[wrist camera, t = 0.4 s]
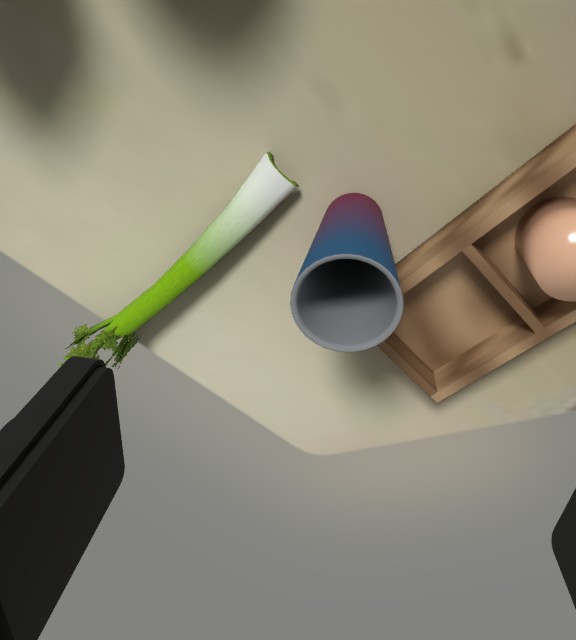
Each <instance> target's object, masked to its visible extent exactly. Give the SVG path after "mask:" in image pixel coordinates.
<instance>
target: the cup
mask: <svg viewBox="0 0 576 640" xmlns="http://www.w3.org/2000/svg"><path fill="white" fill-rule="evenodd" d="M290 305H291V311H292V315H293V318H294V320H295V323H296V324H297V326H298V327H299V329H300V330H301V331H302V332H303V334H304V335H305V336H306V337H307V338H309V339H310V340H311V341H313V342H314V343H316V344H318V345H320V346H322V347H324V348H327V349H330V350H333V351H339V352H357V351H362V350H366V349H369V348H372V347H374V346H376V345H378V344H380V343H381V342H383V341H384V340H385V339H387V338H388V337H389V336H390V335H391V334H392V333H393V331H394V330H395V329H396V327H397V326H398V324H399V321H400V319H401V317H402V312H403V295H402V291H401V287H400V283H399V280H398V276H397V272H396V268H395V264H394V260H393V256H392V252H391V248H390V244H389V240H388V236H387V232H386V228H385V224H384V220H383V216H382V212H381V210H380V208H379V206H378V205H377V203H376V202H375V201H374V200H373V199H371V198H370V197H368V196H366V195H363V194H359V193H349V194H345V195H342V196H340V197H338V198H337V199H335V200H334V201H333V202H332V203H331V204H330V206H329V207H328V209H327V211H326V213H325V215H324V218H323V220H322V222H321V224H320V227H319V229H318V231H317V233H316V236H315V238H314V240H313V243H312V245H311V247H310V249H309V252H308V254H307V256H306V258H305V261H304V263H303V265H302V268H301V270H300V272H299V274H298V277H297V279H296V281H295V283H294V286H293V289H292V293H291V302H290Z"/></svg>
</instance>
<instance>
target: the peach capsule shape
mask: <svg viewBox="0 0 576 640" xmlns="http://www.w3.org/2000/svg"><path fill="white" fill-rule="evenodd" d="M515 246H516V249H517V251H518V253H519V255H520V256H521V258H522V259H523V261H524V263H525V264H526V266H527V267H528V269H529V270H530V272H531V273H532V275H533V277H534V278H535V280H536V281H537V283H538V284H539V286H540V287H541V289H542V290H543V291H544V292H545V293H547V294H548V295H549V296H551V297H553V298H556V299H558V300H563V301H576V198H572V197H554V198H550V199H547V200H544V201H542V202H540V203H538V204H537V205H535V206H533V207H532V208H531V209H530V210H529V211H528V212H527V213H526V214H525V215H524V216H523V217H522V218H521V220H520V222H519V224H518V226H517V228H516V231H515Z"/></svg>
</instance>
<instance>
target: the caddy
mask: <svg viewBox="0 0 576 640" xmlns="http://www.w3.org/2000/svg"><path fill="white" fill-rule="evenodd" d="M554 197H572V198H576V124H575V125H574V126H573V127H571V128H570V129H569V130H567V131H566V132H565V133H564V134H562V135H561V136H560V137H558V138H557V139H556V140H555V141H553V142H552V143H551V144H549V145H548V146H547V147H546V148H544V149H543V150H542V151H540V152H539V153H538V154H537V155H535V156H534V157H533V158H531V159H530V160H529V161H528V162H526V163H525V164H524V165H522V166H521V167H520V168H519V169H517V170H516V171H515V172H513V173H512V174H511V175H510V176H508V177H507V178H506V179H504V180H503V181H502V182H501V183H499V184H498V185H497V186H496V187H494V188H493V189H492V190H490V191H489V192H488V193H487V194H485V195H484V196H483V197H481V198H480V199H479V200H478V201H476V202H475V203H474V204H472V205H471V206H470V207H469V208H467V209H466V210H465V211H463V212H462V213H461V214H460V215H458V216H457V217H456V218H454V219H453V220H452V221H451V222H449V223H448V224H447V225H445V226H444V227H443V228H442V229H440V230H439V231H438V232H436V233H435V234H434V235H433V236H431V237H430V238H429V239H427V240H426V241H425V242H424V243H422V244H421V245H420V246H418V247H417V248H416V249H415V250H413V251H412V252H411V253H409V254H408V255H407V256H406V257H404V258H403V259H402V260H400V261H399V262H398V263H397V264H395V268H396V272H397V276H398V280H399V283H400V287H401V291H402V295H403V312H402V317H401V319H400V321H399V324H398V326H397V327H396V329H395V330H394V331H393V333H392V334H391V335H390V336H389V337H388V338H387V339H385V340H384V341H383V342H381V343H380V344H378V345H377V346H378V347H379V348H380V349H381V350H382V351H384V352H385V353H386V354H387V355H388V356H389V357H390V358H391V359H392V360H393V361H394V362H395V363H396V364H397V365H398V366H399V367H400V368H401V369H402V370H403V371H404V372H405V373H406V374H407V375H409V376H410V377H411V378H412V379H413V380H414V381H415V382H416V383H417V384H418V385H419V386H420V387H421V388H422V389H423V390H424V391H425V392H426V393H427V394H428V395H429V396H430V397H431V398H432V399H433V400H435V401H436V402H437V403H438V402H439V401H441V400H443V399H444V398H446V397H448V396H450V395H451V394H453V393H455V392H456V391H458V390H460V389H462V388H463V387H465V386H467V385H468V384H470V383H472V382H473V381H475V380H477V379H479V378H480V377H482V376H484V375H485V374H487V373H489V372H490V371H492V370H494V369H496V368H497V367H499V366H501V365H502V364H504V363H506V362H508V361H509V360H511V359H513V358H514V357H516V356H518V355H519V354H521V353H523V352H525V351H526V350H528V349H530V348H531V347H533V346H535V345H536V344H538V343H540V342H542V341H543V340H545V339H547V338H548V337H550V336H552V335H553V334H555V333H557V332H559V331H560V330H562V329H564V328H565V327H567V326H569V325H571V324H572V323H574V322H576V301H563V300H558V299H556V298H553V297H551V296H549V295H548V294H547V293H545V292H544V291H543V290H542V289H541V287H540V286H539V284H538V283H537V281H536V280H535V278H534V277H533V275H532V273H531V272H530V270H529V269H528V267H527V266H526V264H525V263H524V261H523V259H522V258H521V256H520V255H519V253H518V251H517V249H516V246H515V231H516V228H517V226H518V224H519V222H520V220H521V218H522V217H523V216H524V215H525V214H526V213H527V212H528V211H529V210H530V209H531V208H532V207H533V206H535V205H537V204H538V203H540V202H542V201H544V200H547V199H550V198H554Z"/></svg>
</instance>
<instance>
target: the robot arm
mask: <svg viewBox="0 0 576 640" xmlns="http://www.w3.org/2000/svg"><path fill="white" fill-rule="evenodd" d="M124 468H125V466H124V457H123V449H122V440H121V432H120V423H119V415H118V407H117V398H116V390H115V381H114V375H113V371H112V369H110V368H106V366H105V363H104V361H103V360H100V359H93V358H86V357H79V356H72V357H70V358H69V359H68V360H67V361H66V362H65V363H64V364H63V365H62V366H61V367H60V368H59V369H58V371H57V372H56V373H55V374H54V375H53V376H52V377H51V378H50V379H49V380H48V382H47V383H46V384H45V385H44V386H43V387H42V388H41V389H40V390H39V391H38V392H37V394H36V395H35V396H34V397H33V398H32V399H31V400H30V401H29V402H28V404H26V406H25V407H24V408H23V409H22V410H21V411H20V412H19V413H18V414H17V415H16V417H15V418H14V419H12V420H11V421H9V422H8V423H7V424H6V425H5V426H4V427H3V428H2V429H1V430H0V640H37V639H38V638H39V636H40V634H41V632H42V630H43V628H44V626H45V625H46V623H47V621H48V619H49V617H50V615H51V613H52V612H53V610H54V608H55V606H56V604H57V602H58V600H59V599H60V597H61V595H62V593H63V591H64V589H65V587H66V585H67V583H68V582H69V580H70V578H71V576H72V574H73V572H74V570H75V568H76V566H77V565H78V563H79V561H80V559H81V557H82V555H83V554H84V552H85V550H86V548H87V546H88V544H89V542H90V540H91V538H92V536H93V535H94V533H95V531H96V529H97V527H98V525H99V523H100V522H101V520H102V518H103V516H104V514H105V512H106V510H107V509H108V507H109V505H110V503H111V501H112V499H113V497H114V495H115V494H116V492H117V490H118V488H119V486H120V484H121V482H122V479H123V475H124ZM552 548H553V552H554V555H555V557H556V560H557V562H558V565H559V567H560V570H561V573H562V575H563V578H564V580H565V583H566V585H567V588H568V590H569V593H570V595H571V598H572V601H573V603H574V606H575V608H576V489H575V491H574V492H573V494H572V496H571V498H570V500H569V502H568V504H567V506H566V508H565V509H564V511H563V513H562V515H561V517H560V519H559V521H558V522H557V524H556V526H555V528H554V530H553V533H552Z"/></svg>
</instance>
